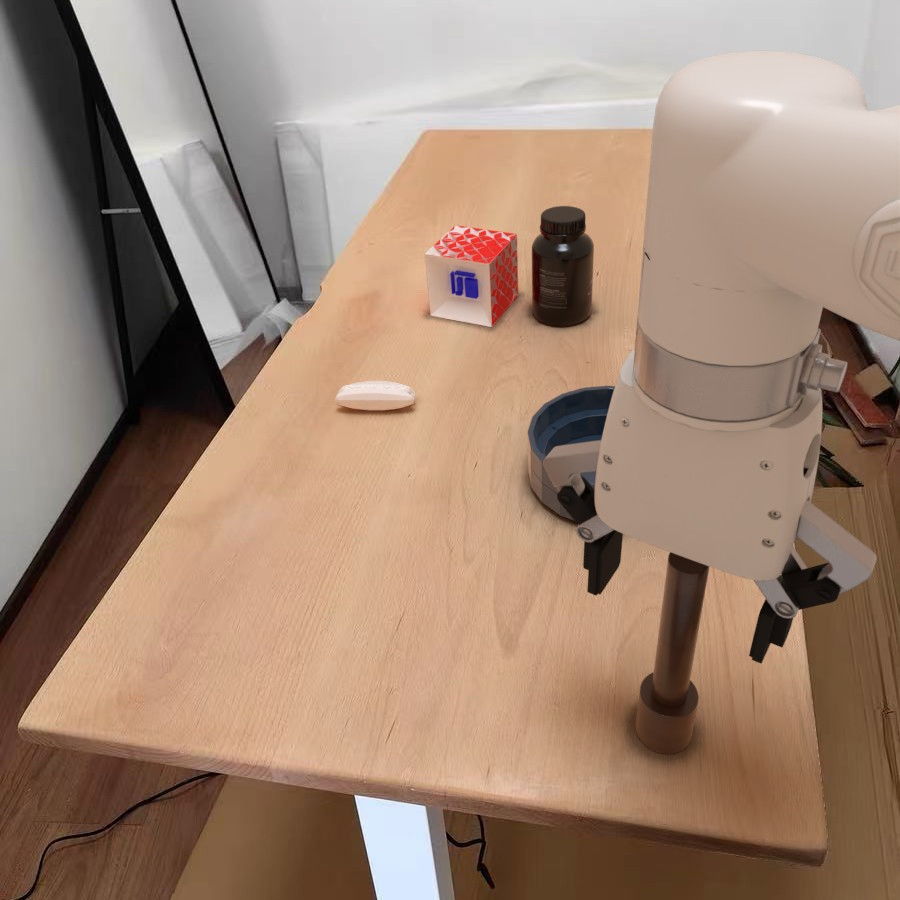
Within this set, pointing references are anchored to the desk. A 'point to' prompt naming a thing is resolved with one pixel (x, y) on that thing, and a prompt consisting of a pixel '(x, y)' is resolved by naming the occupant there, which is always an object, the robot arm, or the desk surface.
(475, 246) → the puzzle cube
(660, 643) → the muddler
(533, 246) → the supplement bottle
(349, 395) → the sandwich bun
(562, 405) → the bowl
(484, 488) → the desk surface
